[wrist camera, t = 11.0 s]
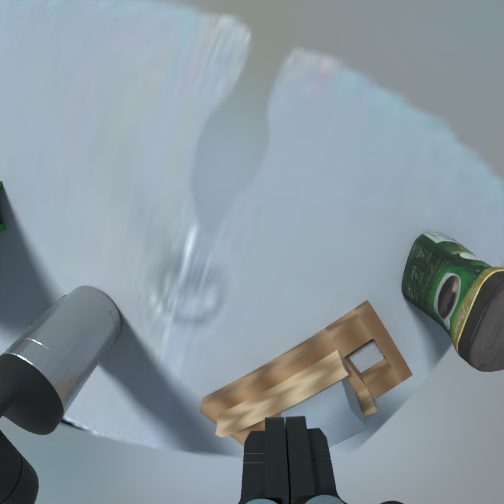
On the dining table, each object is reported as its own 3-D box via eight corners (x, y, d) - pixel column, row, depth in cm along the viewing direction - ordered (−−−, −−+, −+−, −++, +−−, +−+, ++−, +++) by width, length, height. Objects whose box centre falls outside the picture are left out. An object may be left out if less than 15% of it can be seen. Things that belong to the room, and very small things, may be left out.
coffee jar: (438, 301, 38) (512, 379, 21) (392, 295, 38) (462, 384, 20) (459, 236, 35) (554, 290, 18) (413, 224, 35) (510, 281, 17)
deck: (257, 442, 47) (257, 473, 40) (202, 397, 44) (195, 430, 37) (405, 363, 41) (422, 391, 35) (367, 299, 38) (385, 327, 32)
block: (299, 416, 41) (304, 458, 33) (280, 398, 40) (282, 441, 32) (353, 387, 39) (367, 428, 31) (337, 366, 38) (350, 409, 30)
